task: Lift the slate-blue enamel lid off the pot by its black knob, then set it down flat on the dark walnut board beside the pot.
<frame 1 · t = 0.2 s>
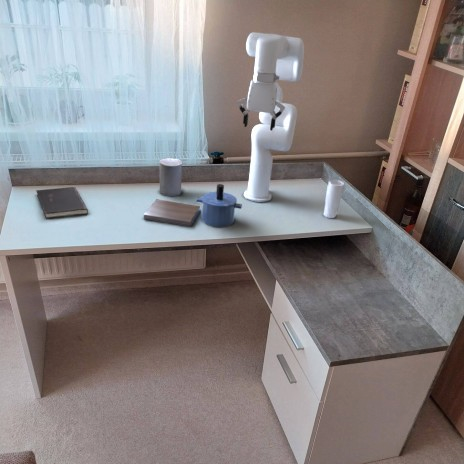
hand: (258, 127, 178), 37 cm above the table, tool pointing down, fingers open, 9 cm apart
hardcover book: (62, 205, 195), on the table
pillar candle: (170, 192, 215), on the table
board: (172, 214, 196), on the table
lid: (219, 200, 191), point 8 cm above the table, touching pot
white cylinder: (329, 216, 209), on the table
pot: (217, 219, 196), on the table
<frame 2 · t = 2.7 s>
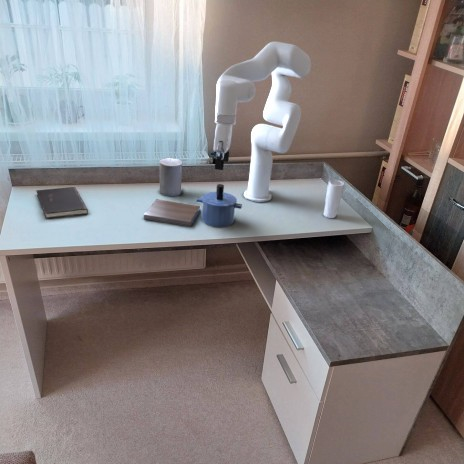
hand: (221, 165, 183), 23 cm above the table, tool pointing down, fingers open, 9 cm apart
nothing on the table moved.
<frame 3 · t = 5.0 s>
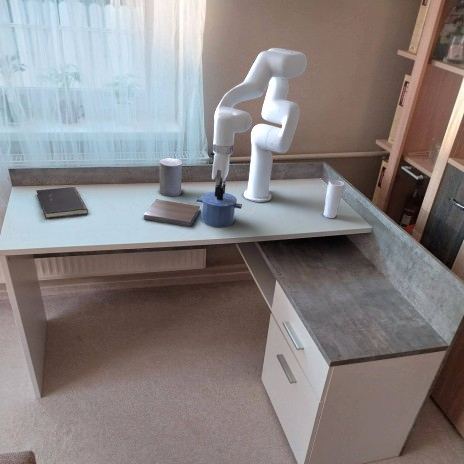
hand: (219, 194, 190), 11 cm above the table, tool pointing down, fingers closed on lid, 2 cm apart
lid: (219, 200, 191), point 9 cm above the table, touching gripper, pot
everything else where it was.
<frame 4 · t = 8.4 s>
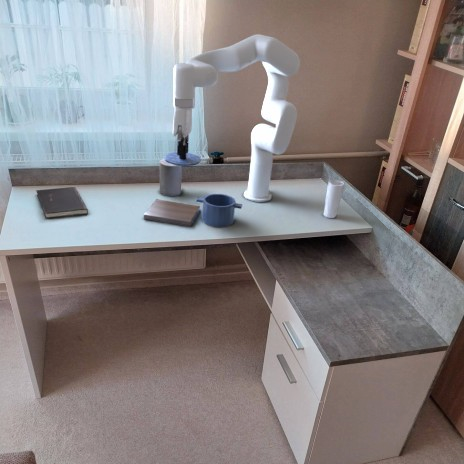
hand: (182, 153, 181), 25 cm above the table, tool pointing down, fingers closed on lid, 2 cm apart
lid: (182, 159, 183), point 23 cm above the table, touching gripper
everything else where it was.
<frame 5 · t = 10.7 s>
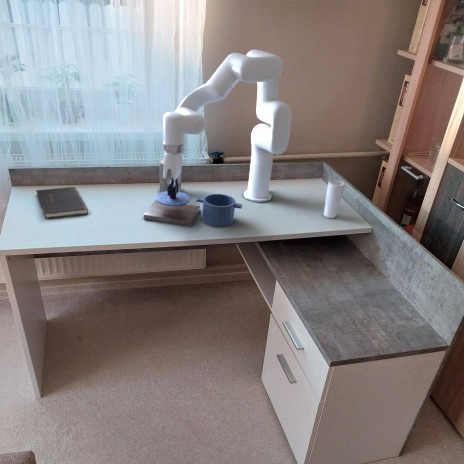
hand: (172, 193, 191), 9 cm above the table, tool pointing down, fingers closed on lid, 2 cm apart
lid: (172, 199, 192), point 7 cm above the table, touching gripper
everything else where it was.
when the fingers open (5 cm above the table, at t = 12.1 s): lid stays where it is, resting on board.
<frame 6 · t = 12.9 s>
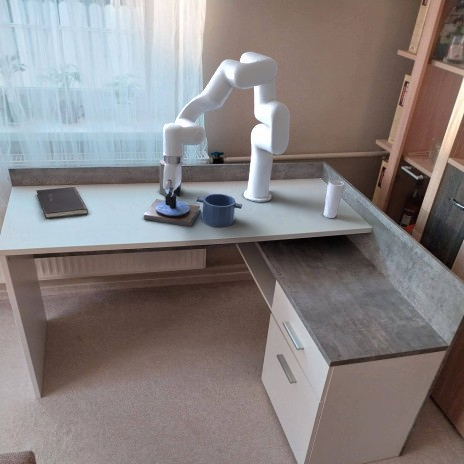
hand: (173, 200, 193), 6 cm above the table, tool pointing down, fingers open, 9 cm apart
lid: (172, 208, 195), point 3 cm above the table, touching board
everything else where it was.
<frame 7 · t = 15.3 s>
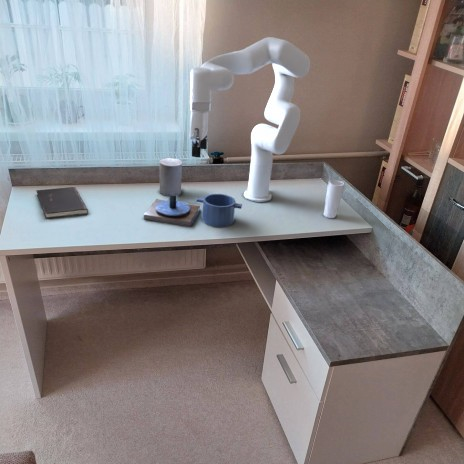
hand: (199, 152, 184), 25 cm above the table, tool pointing down, fingers open, 9 cm apart
nothing on the table moved.
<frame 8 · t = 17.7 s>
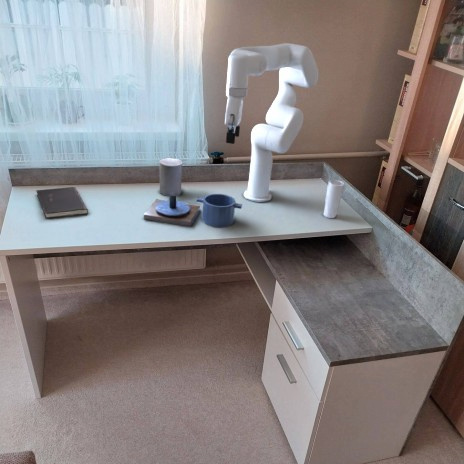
hand: (232, 139, 185), 30 cm above the table, tool pointing down, fingers open, 9 cm apart
nothing on the table moved.
at the end: lid 0.0 cm off-centre on the board, point 2.6 cm above the board's base; lid tilted 0°; lid moved 19.6 cm from its start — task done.
